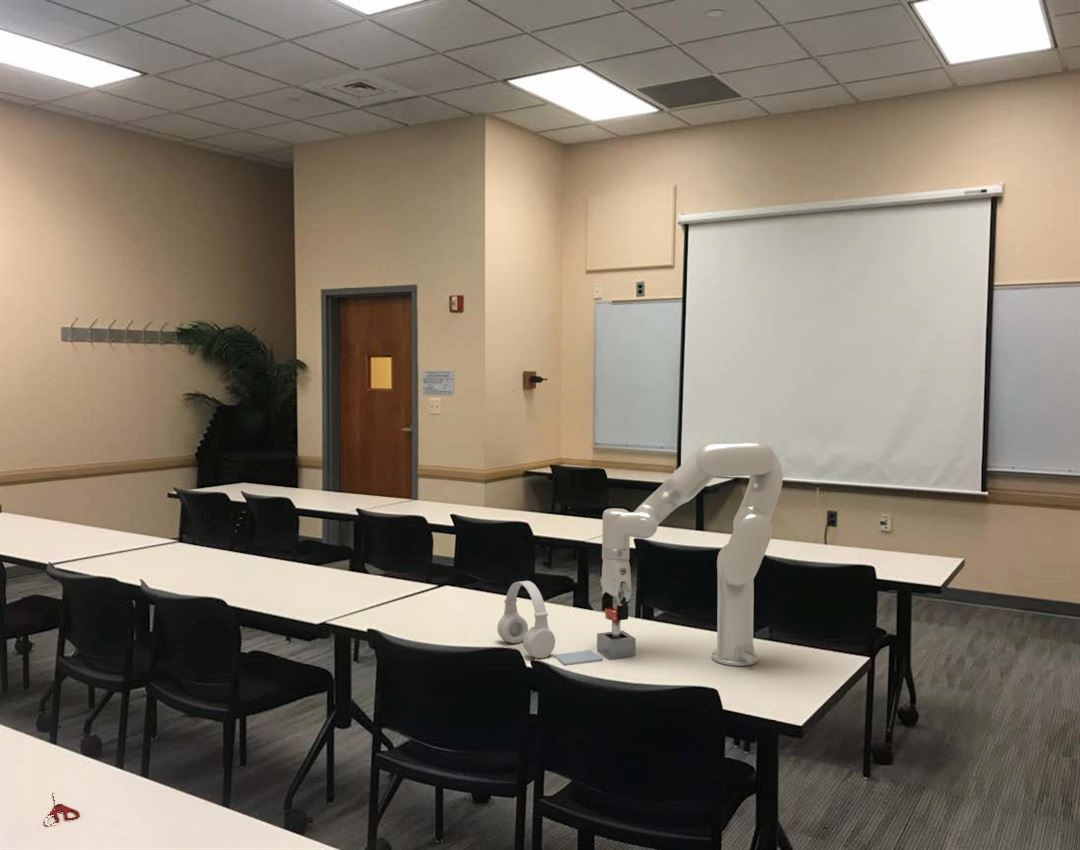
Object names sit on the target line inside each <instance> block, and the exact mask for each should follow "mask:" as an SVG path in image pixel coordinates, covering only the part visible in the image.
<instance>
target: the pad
mask: <svg viewBox="0 0 1080 850" xmlns="http://www.w3.org/2000/svg"><path fill="white" fill-rule="evenodd" d="M553 657H554V658H555V657H556V658H557V659H558V660H557V659H556V658H555V659H556V660H557V661H558V662H560V663H561V665H563V666H572V665H579V664H587V663H592V662H593V663H594V662H602V661H603V658H602V657H601V656H599V655H598V654H597V653H596V652H594V651H592V650H591V649H590V650H581V651H574V652H573V651H572V652H565V653H558V654H553Z"/></svg>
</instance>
